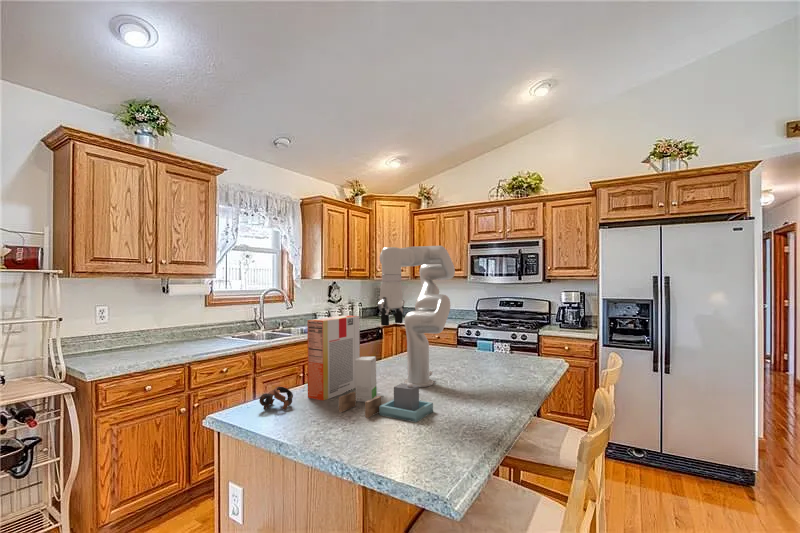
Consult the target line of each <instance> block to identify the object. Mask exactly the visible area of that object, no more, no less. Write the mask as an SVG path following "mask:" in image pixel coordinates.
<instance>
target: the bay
mask: <svg viewBox="0 0 800 533" xmlns="http://www.w3.org/2000/svg"><path fill="white" fill-rule="evenodd" d="M382 400H383V399H382V396H381V395H377V397H375V398H373V399H370V400H368V401H366V402H364V418H367V419H368V418H371V417H372V416H374V415H377V414H378V413H379V406H381V405H383V403H382ZM356 406H357V401H356V391H351V392H349V393H346V394H344V395H340V396H338V412H339V413H343V412H346V411H348V410H350V409H353V408H355V407H356ZM352 407H353V408H352Z"/></svg>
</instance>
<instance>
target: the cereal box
mask: <svg viewBox="0 0 800 533" xmlns="http://www.w3.org/2000/svg"><path fill="white" fill-rule="evenodd" d="M360 331H361V330H360V315H346V314H345V315H339V316H337V315H336V316H329V317H328V316H327V317H321V318H314V319H313V318H312V319H307V398H308V399H314V400H319V401H326V400H329V399H332V398H334V397H337V396H339V395H342V394H344V393H347V392H349V391H348V390H350V391H352V390H354V389H353V388H355V389H356V377H355V360H356V359H357V358H359V357H361V354H360V351H361V350H360V348H361V347H360V346H361V345H360V343H361V342H360V341H361V339H360V335H361V334H360ZM351 389H352V390H351ZM346 391H347V392H346ZM341 393H342V394H341Z"/></svg>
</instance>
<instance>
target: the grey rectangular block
mask: <svg viewBox="0 0 800 533" xmlns="http://www.w3.org/2000/svg"><path fill="white" fill-rule="evenodd" d="M393 399H394V407H395V408H400V409H406V410H411V411H415V410H417V409H419V401H420V387H419V386H415V385H413V384H412V383H408V384H404V383H399V384H397V385H395V386H393Z"/></svg>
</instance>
